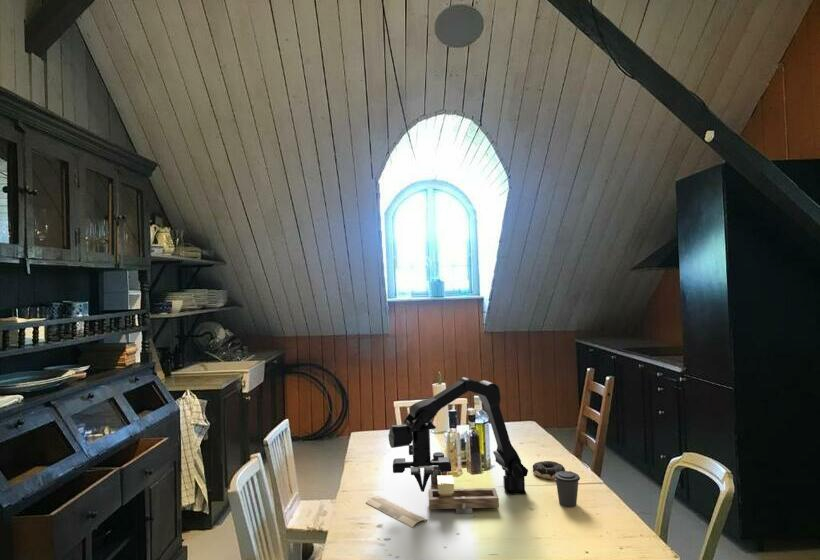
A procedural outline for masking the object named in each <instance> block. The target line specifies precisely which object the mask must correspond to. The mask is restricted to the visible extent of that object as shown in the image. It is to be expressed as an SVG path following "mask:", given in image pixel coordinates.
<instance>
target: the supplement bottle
mask: <svg viewBox="0 0 820 560" xmlns="http://www.w3.org/2000/svg"><path fill="white" fill-rule="evenodd" d="M432 457H433V458H431V461H438V457H445V453H444V452H441V451H436V452H433V454H432ZM433 473H434V474H433V475H430V485H431V486H432V487H433V488H437V489H438V483H437V476H448V472H441V471H440V470H439V467H434V469H433Z"/></svg>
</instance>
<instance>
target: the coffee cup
mask: <svg viewBox="0 0 820 560" xmlns="http://www.w3.org/2000/svg"><path fill="white" fill-rule="evenodd" d="M554 477H555V478H556V479H555V482H556V489H557V496H558V497H557V498H558V504H559V505H560V506H561V507H563V508H567V509H569V508H570V509H573V508H575V507H577V503H578V491H579V481H580V479H581V477H580V475H579V474H578V473H575V472H573V471H571V470H569V471H567V470H565V471H560V472H557V473H555V475H554Z"/></svg>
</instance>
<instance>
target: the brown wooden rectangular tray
mask: <svg viewBox="0 0 820 560" xmlns="http://www.w3.org/2000/svg"><path fill="white" fill-rule="evenodd" d="M499 499H500V498H499V495H498V493H497V490H496V488H495V487H487V488H486V487H483V488H482V487H481V488H479V487H477V488H464V487H463V488H461V487H460V488H454V493H452V497H440V496H439V493H438V488H437V489H435V488H434V489H433V488H431V489H430V488H429V489H428V505H429V507H428V509H429V510H437V509H439V510H440V509H441V510H442V509H446V510H447V509H455V514H456V515H471V514H472V515H473V509H489V508H490V509H491V508H492V509H493V508H500V500H499Z"/></svg>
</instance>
